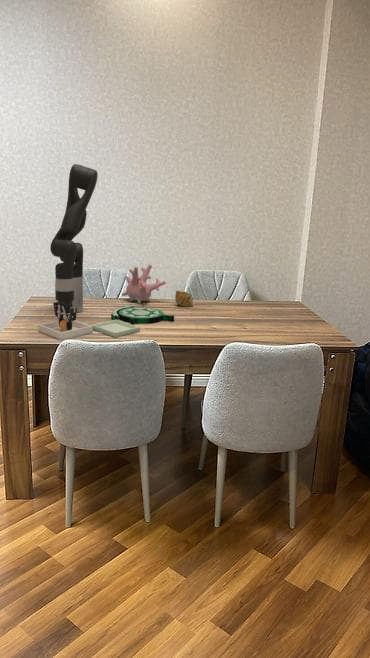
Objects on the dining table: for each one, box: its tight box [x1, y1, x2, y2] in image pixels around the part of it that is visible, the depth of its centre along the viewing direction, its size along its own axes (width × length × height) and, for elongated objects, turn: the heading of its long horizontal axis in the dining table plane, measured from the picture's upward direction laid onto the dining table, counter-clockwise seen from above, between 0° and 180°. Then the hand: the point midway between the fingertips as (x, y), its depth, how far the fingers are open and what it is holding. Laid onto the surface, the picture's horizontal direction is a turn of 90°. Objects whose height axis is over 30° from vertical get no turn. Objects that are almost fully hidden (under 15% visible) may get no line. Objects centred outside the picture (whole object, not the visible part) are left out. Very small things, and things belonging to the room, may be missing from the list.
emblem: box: [110, 305, 175, 325], centre depth 233 cm, size 25×3×30 cm
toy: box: [121, 264, 167, 304], centre depth 264 cm, size 18×21×20 cm
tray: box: [90, 319, 141, 338], centre depth 212 cm, size 16×14×2 cm
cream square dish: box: [37, 320, 94, 341], centre depth 206 cm, size 16×16×3 cm
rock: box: [174, 290, 194, 308], centre depth 264 cm, size 12×9×10 cm
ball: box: [59, 318, 68, 331], centre depth 205 cm, size 5×5×5 cm
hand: (65, 328), depth 206 cm, fingers closed on ball, 5 cm apart
